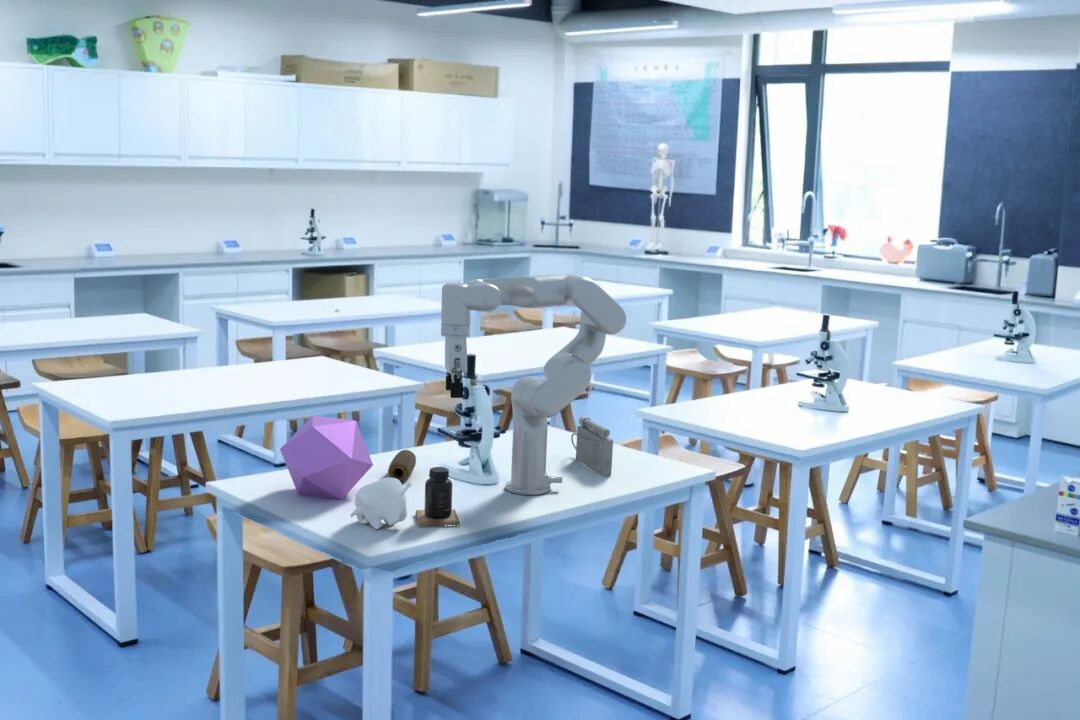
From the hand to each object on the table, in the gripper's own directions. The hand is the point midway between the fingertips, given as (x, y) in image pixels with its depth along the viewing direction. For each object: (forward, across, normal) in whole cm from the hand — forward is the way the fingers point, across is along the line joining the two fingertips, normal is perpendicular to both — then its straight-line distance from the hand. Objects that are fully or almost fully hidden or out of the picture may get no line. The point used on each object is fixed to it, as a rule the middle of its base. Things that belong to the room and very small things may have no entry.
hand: (454, 393), depth 304 cm
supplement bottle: (+27, -21, +6) cm, 35 cm away
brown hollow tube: (+28, +20, +12) cm, 37 cm away
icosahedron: (+28, +6, +33) cm, 44 cm away
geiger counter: (+29, +29, -45) cm, 61 cm away
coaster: (+28, -21, +6) cm, 35 cm away
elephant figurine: (+28, -23, +20) cm, 42 cm away
